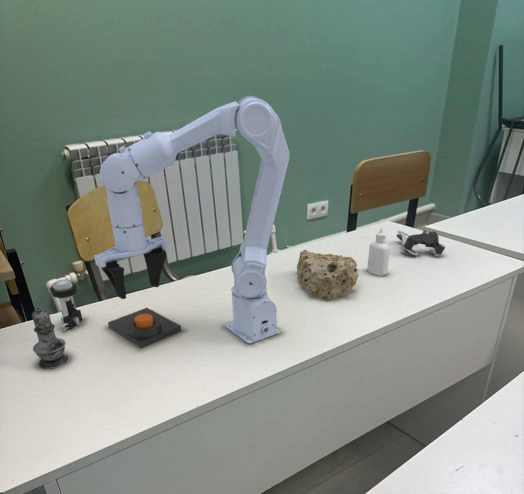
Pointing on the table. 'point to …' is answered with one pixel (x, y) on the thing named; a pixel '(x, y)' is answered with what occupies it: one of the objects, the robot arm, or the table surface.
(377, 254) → the eye dropper bottle
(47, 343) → the grey tiered figurine
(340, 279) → the rock
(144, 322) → the round orange button cap
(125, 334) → the orange button switch
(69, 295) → the white black upright piece
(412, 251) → the bicycle component
